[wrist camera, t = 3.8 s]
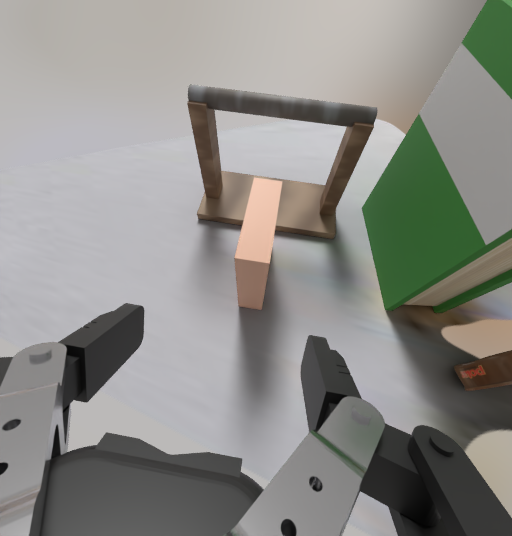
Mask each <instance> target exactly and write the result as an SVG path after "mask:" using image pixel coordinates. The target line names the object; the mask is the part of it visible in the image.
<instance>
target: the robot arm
mask: <svg viewBox="0 0 512 536" xmlns="http://www.w3.org/2000/svg"><path fill="white" fill-rule="evenodd" d="M143 334H144V308H143V306H139V305H134V304H128V303H126V304H124V305H122V306H121V307H119V308H118V309H116V310H115V311H111V312H109V313H106V314H103V315H100V316H99V317H97V318H95V319H94V320H92V321H91V323H88V324H86V325H84V326H83V328H82V327H81V328H80V329H78V330H77V331H75V332H74V333H72V334H70V335H69V336H67V337H66V338H64V339H63V340H61V341H60V342H58V343H56V342H48V343H41V344H37V345H33V346H30V347H28V348H25V349H23V350H22V351H20V352H19V353H17V354H16V355H15V356H14V357H6V358H5V357H4V358H3V357H2V358H0V536H342V534H343V532H344V529H345V527H346V524H347V522H348V520H349V517H350V515H351V512H352V510H353V507H354V505H355V502H356V500H357V498H358V495H359V493H360V491H361V492H363V493H365V494H367V495H368V496H370V497H372V498H374V499H376V500H377V501H379V502H381V503H383V504H385V505H387V506H388V507H389V510H390V513H391V516H392V519H393V522H394V525H395V528H396V531H397V534H398V536H512V518H511V517H510V515H509V514H508V512H507V511H506V509H505V508H504V507H503V505H502V504H501V502H500V501H499V500H498V498H497V497H496V495H495V494H494V493H493V491H492V490H491V489H490V487H489V486H488V484H487V483H486V482H485V480H484V479H483V477H482V476H481V474H480V473H479V472H478V471H477V469H476V467H475V466H474V465H473V463H472V462H471V461H470V459H469V458H468V456H467V455H466V453H465V452H464V451H463V450H462V448H461V447H460V446H459V445H458V444H457V443H456V442H455V441H453V440H452V439H451V438H450V437H448V436H447V435H445V434H444V433H442V432H440V431H439V430H437V429H434V428H432V427H429V426H424V425H420V426H417V427H415V428H414V430H413V432H412V435H410V434H408V433H405V432H403V431H401V430H398V429H396V428H394V427H392V426H389V425H387V424H385V422H384V419H383V417H382V415H381V414H380V412H379V411H378V410H377V409H376V408H375V407H374V406H373V405H371V404H370V403H368V402H367V401H365V400H363V399H362V398H361V396H360V394H359V392H358V389H357V387H356V385H355V383H354V381H353V378H352V376H351V375H350V372H349V369H348V368H347V365H346V363H345V361H344V358H343V357H342V356H341V355H340V354H339V353H338V352H337V351H336V350H330V348H329V345H328V343H327V340H326V338H323V337H318V336H312V335H309V336H308V339H307V343H306V347H305V351H304V356H303V360H302V364H301V381H302V388H303V394H304V401H305V407H306V414H307V420H308V427H309V433H308V435H307V436H306V437H305V439H304V440H303V441H302V442H301V444H300V445H299V446H298V447H297V449H296V450H295V451H294V452H293V454H292V455H291V456H290V458H289V459H288V460H287V461H286V463H285V464H284V465H283V466H282V468H281V469H280V470H279V472H278V473H277V474H276V475H275V477H274V478H273V479H272V480H271V482H270V483H269V484H268V486H267V487H266V488H265V489H264V490H263V489H262V487H261V486H259V485H258V484H257V483H256V482H255V481H254V480H253V479H251V478H250V477H248V476H247V475H245V474H243V473H242V472H241V464H242V459H241V458H236V457H230V456H225V455H220V454H215V453H210V452H206V453H191V454H179V455H170V454H166V453H165V452H163V451H161V450H159V449H157V448H155V447H154V446H152V445H150V444H148V443H146V442H144V441H142V440H140V439H137V438H132V437H127V436H122V435H117V434H112V433H106V434H105V435H104V436H103V438H102V439H101V440H100V442H99V443H98V445H94V446H88V447H83V448H79V449H76V450H72V451H70V452H67V449H68V438H69V427H70V416H71V405H70V403H71V402H72V401H73V400H76V401H81V402H88V401H89V400H90V399H91V398H92V397H93V396H94V395H95V394H96V393H97V391H98V390H99V389H100V388H101V387H102V386H103V385H104V384H105V383H106V382H107V381H108V380H109V379H110V378H111V377H112V376H113V374H114V373H115V372H116V371H117V370H118V369H119V368H120V367H121V366H122V365H123V364H124V363H125V362H126V361H127V360H128V359H129V357H130V356H131V355H132V354H133V353H134V352H135V351H136V350H137V349H138V348H139V346H140V345H141V343H142V340H143Z"/></svg>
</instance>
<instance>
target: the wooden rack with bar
mask: <svg viewBox="0 0 512 536" xmlns="http://www.w3.org/2000/svg"><path fill="white" fill-rule="evenodd" d="M188 99H189V101H188V108H189V114H190V118H191V124H192V129H193V134H194V139H195V144H196V149H197V154H198V159H199V164H200V169H201V174H202V179H203V184H204V189H205V193H204V196H203V199H202V201H201V204H200V207H199V209H198V212H197V215H198V219H204V220H210V221H217V222H224V223H230V224H237V225H243V221H244V217H245V213H246V209H247V204H248V200H249V196H250V192H251V188H252V184H253V180H254V177H255V178H262V179H269V180H276V181H283V182H282V188H281V194H280V201H279V207H278V213H277V220H276V226H275V230H276V231H283V232H290V233H296V234H303V235H309V236H316V237H323V238H329V239H333V238H334V236H335V234H336V207H337V205H338V203H339V201H340V198H341V196H342V194H343V192H344V190H345V188H346V186H347V183H348V181H349V179H350V177H351V175H352V173H353V171H354V168H355V166H356V164H357V162H358V160H359V158H360V156H361V153H362V151H363V149H364V147H365V145H366V143H367V141H368V138H369V136H370V134H371V132H372V130H373V128H374V122H375V119H376V116H377V108H376V107H367V106H359V105H351V104H343V103H335V102H326V101H319V100H311V99H303V98H294V97H286V96H279V95H271V94H262V93H255V92H247V91H239V90H231V89H223V88H215V87H206V86H198V85H189V88H188ZM214 110H222V111H230V112H238V113H245V114H253V115H262V116H269V117H277V118H285V119H292V120H300V121H308V122H315V123H323V124H331V125H339V126H346V127H347V128H346V131H345V134H344V136H343V139H342V142H341V144H340V147H339V150H338V153H337V155H336V158H335V161H334V163H333V166H332V169H331V172H330V174H329V177H328V180H327V182H326V185H318V184H311V183H304V182H297V181H290V180H283V179H276V178H269V177H262V176H254V175H247V174H240V173H233V172H226V171H221V165H220V156H219V147H218V138H217V129H216V120H215V111H214Z"/></svg>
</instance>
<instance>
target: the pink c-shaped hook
mask: <svg viewBox="0 0 512 536" xmlns="http://www.w3.org/2000/svg"><path fill="white" fill-rule="evenodd" d="M282 182H283V181H276V180H269V179H262V178H255V177H254V180H253V184H252V188H251V192H250V196H249V200H248V204H247V209H246V213H245V217H244V221H243V225H242V229H241V233H240V237H239V242H238V246H237V250H236V254H235V269H236V281H237V293H238V304H239V306H240V307H246V308H252V309H257V310H262V306H263V300H264V294H265V288H266V282H267V276H268V270H269V264H270V258H271V252H272V245H273V239H274V233H275V226H276V220H277V213H278V207H279V201H280V194H281V188H282Z"/></svg>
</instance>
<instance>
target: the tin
mask: <svg viewBox="0 0 512 536" xmlns="http://www.w3.org/2000/svg"><path fill="white" fill-rule="evenodd" d="M454 369H455V371H456V373H457V375H458V377H459V378H460V380H461V382H462V383H463V385H464V387H465V390H466V391H473V390H481V389H487V388H493V387H500V386H506V385H512V350H511V351H507V352H503V353H499V354H495V355H492V356H488V357H485V358H482V359H479V360H477V361H473V362H469V363H464V364H460V365H455V366H454Z"/></svg>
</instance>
